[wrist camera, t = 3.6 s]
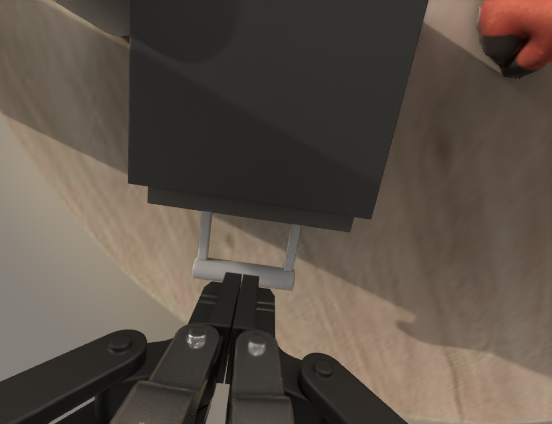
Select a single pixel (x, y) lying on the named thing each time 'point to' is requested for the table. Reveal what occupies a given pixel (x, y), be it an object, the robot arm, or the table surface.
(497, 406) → the table surface
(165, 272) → the table surface
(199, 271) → the drawer
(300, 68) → the cabinet
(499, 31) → the stuffed fox
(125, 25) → the beverage can
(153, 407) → the robot arm
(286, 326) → the table surface
